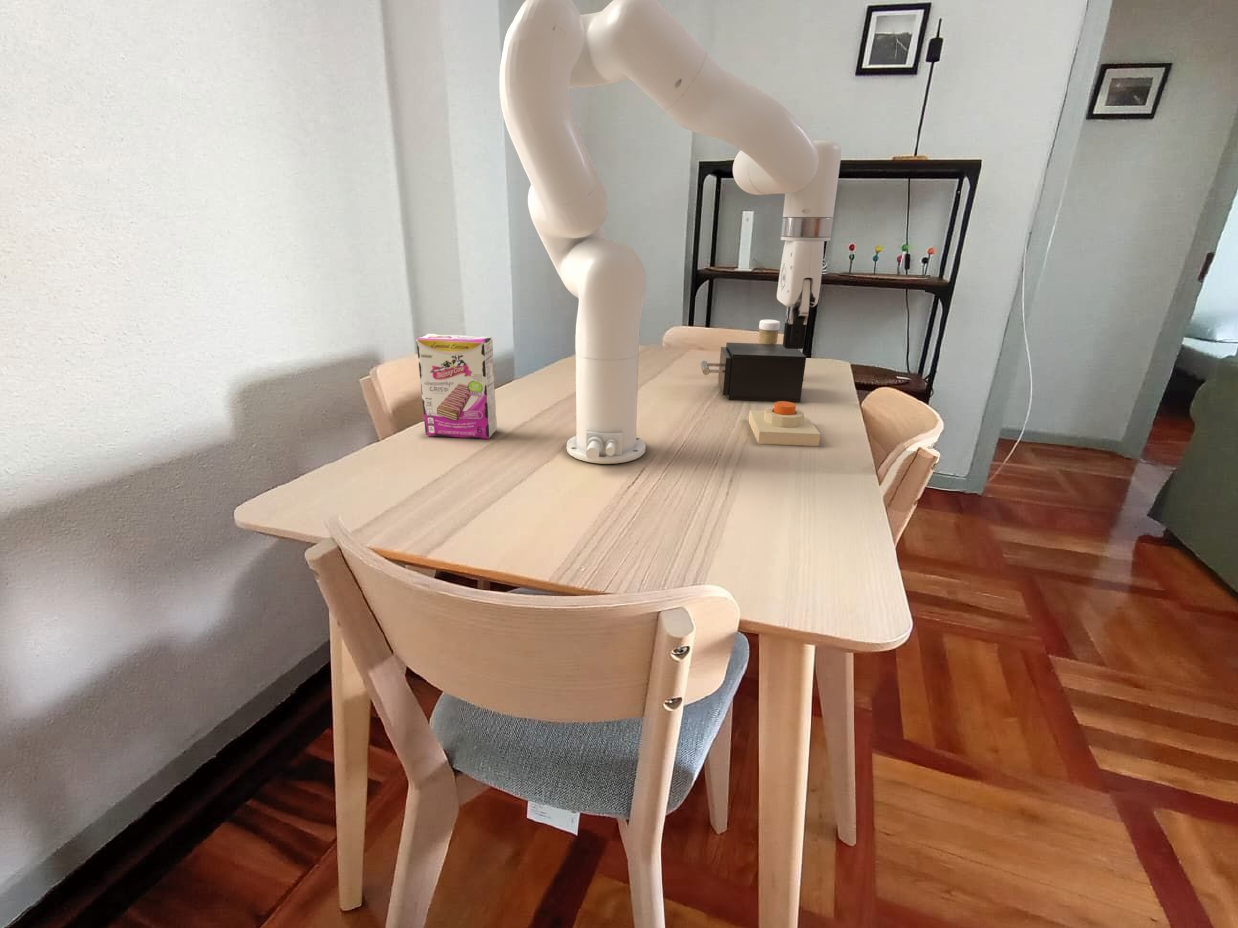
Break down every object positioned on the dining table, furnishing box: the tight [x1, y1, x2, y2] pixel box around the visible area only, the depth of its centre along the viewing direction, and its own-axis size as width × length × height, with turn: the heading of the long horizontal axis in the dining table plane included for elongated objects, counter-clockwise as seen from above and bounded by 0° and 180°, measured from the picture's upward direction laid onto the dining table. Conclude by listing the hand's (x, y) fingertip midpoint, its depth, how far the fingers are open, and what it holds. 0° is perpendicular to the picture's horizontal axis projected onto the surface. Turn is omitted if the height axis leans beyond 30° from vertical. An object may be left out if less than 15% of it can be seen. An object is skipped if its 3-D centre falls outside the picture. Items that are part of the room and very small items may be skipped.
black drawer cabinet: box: [725, 342, 807, 404], centre depth 129 cm, size 15×13×10 cm
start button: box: [773, 401, 797, 415], centre depth 105 cm, size 4×4×2 cm
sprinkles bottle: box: [757, 319, 781, 344], centre depth 141 cm, size 5×5×14 cm
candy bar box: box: [415, 333, 498, 440], centre depth 100 cm, size 11×5×16 cm, turn 85°
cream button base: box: [748, 406, 821, 447], centre depth 106 cm, size 12×10×4 cm
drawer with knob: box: [700, 346, 732, 396], centre depth 130 cm, size 18×11×8 cm, turn 86°
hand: (793, 347), depth 102 cm, fingers closed
